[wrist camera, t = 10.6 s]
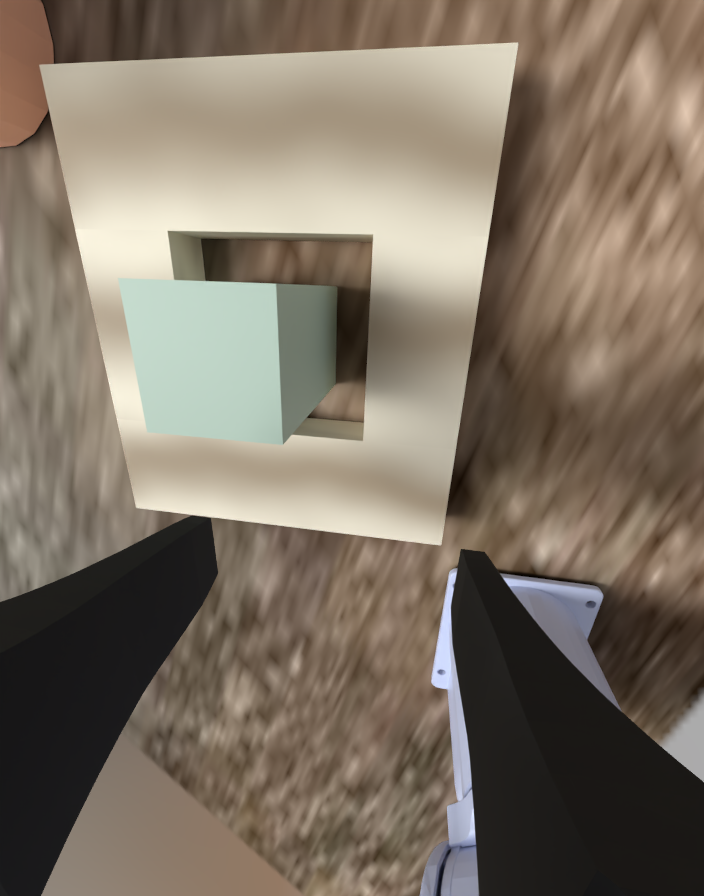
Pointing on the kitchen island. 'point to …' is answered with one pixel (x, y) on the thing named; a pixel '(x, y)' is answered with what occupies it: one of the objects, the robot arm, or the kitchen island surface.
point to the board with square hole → (297, 219)
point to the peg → (230, 355)
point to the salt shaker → (22, 68)
